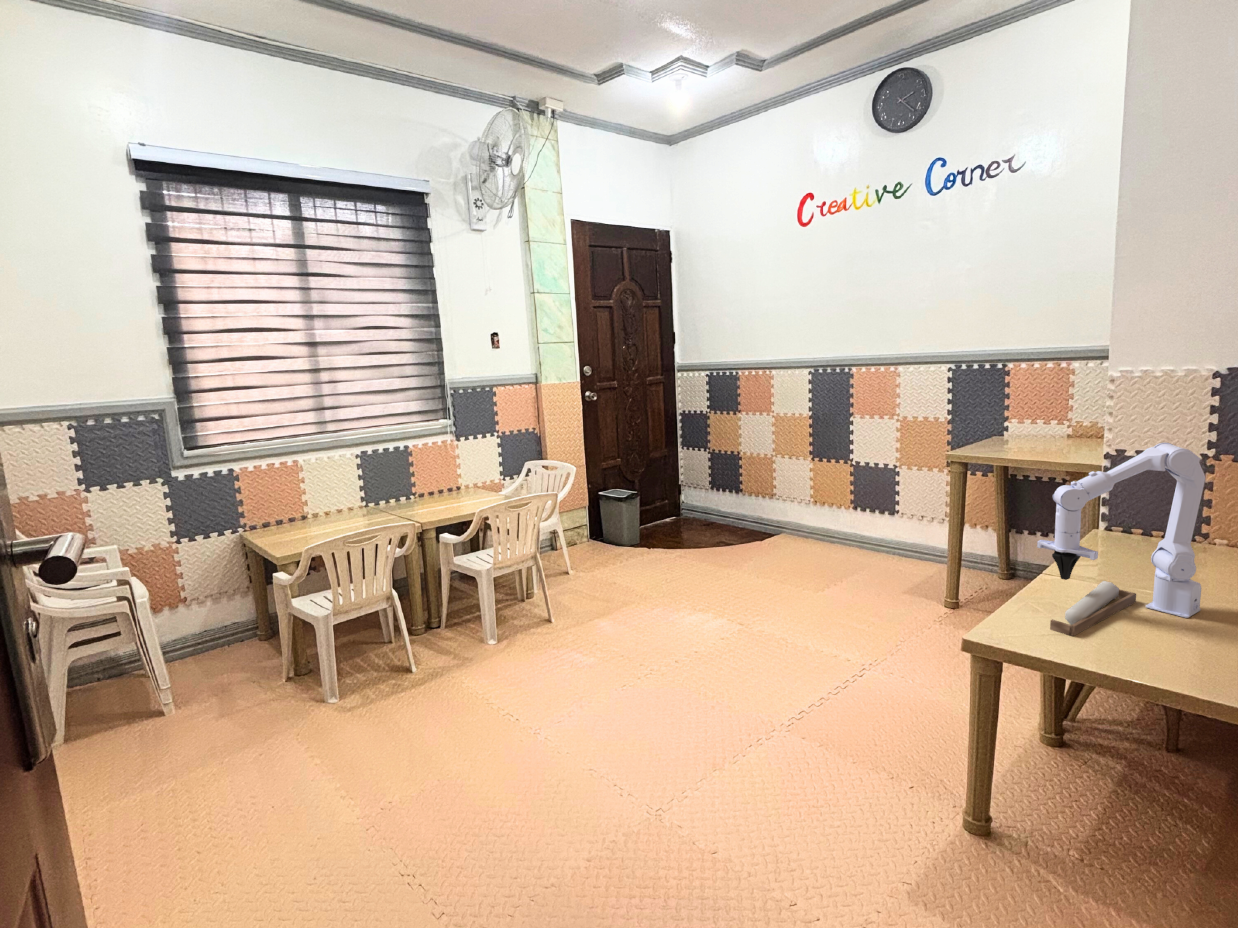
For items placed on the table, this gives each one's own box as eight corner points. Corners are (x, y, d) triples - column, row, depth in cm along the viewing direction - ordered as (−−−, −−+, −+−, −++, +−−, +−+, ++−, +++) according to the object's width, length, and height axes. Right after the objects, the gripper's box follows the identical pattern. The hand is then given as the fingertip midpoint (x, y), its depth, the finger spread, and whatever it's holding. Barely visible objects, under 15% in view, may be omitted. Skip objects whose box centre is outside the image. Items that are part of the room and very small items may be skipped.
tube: (1087, 616, 178) (1122, 587, 193) (1065, 604, 181) (1101, 577, 196) (1079, 633, 180) (1114, 603, 195) (1057, 621, 184) (1093, 593, 199)
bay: (1135, 602, 192) (1136, 593, 192) (1072, 636, 176) (1073, 626, 175) (1113, 596, 197) (1114, 587, 196) (1050, 629, 181) (1050, 620, 180)
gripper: (1031, 528, 193) (1030, 575, 195) (1089, 539, 181) (1086, 589, 183) (1045, 522, 196) (1044, 568, 199) (1103, 533, 184) (1100, 582, 187)
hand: (1065, 578), depth 191 cm, fingers closed
